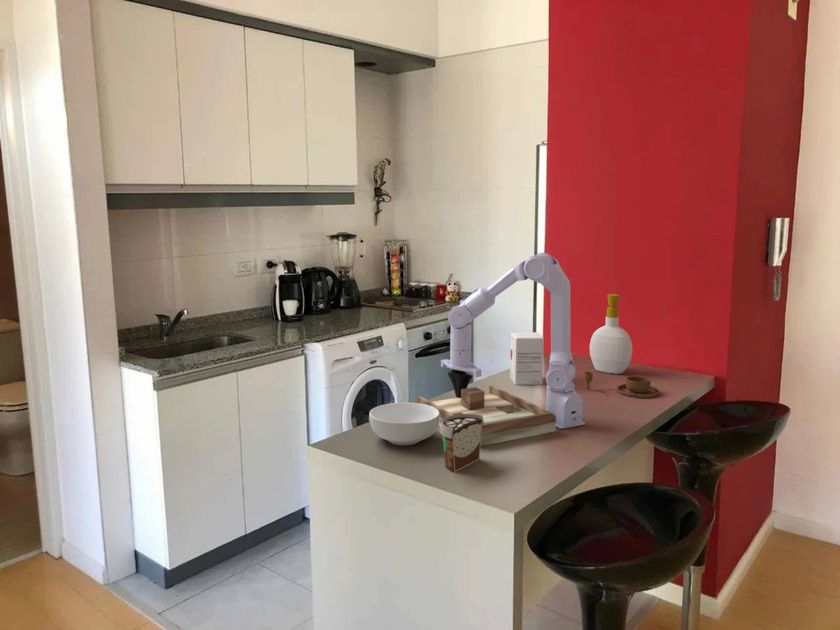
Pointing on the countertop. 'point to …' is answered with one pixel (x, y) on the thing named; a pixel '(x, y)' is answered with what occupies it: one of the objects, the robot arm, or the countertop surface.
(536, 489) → the countertop surface
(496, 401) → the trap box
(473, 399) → the walnut block
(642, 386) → the place setting
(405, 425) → the cereal bowl
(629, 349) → the soap bottle
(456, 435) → the food container
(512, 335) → the supplement box
